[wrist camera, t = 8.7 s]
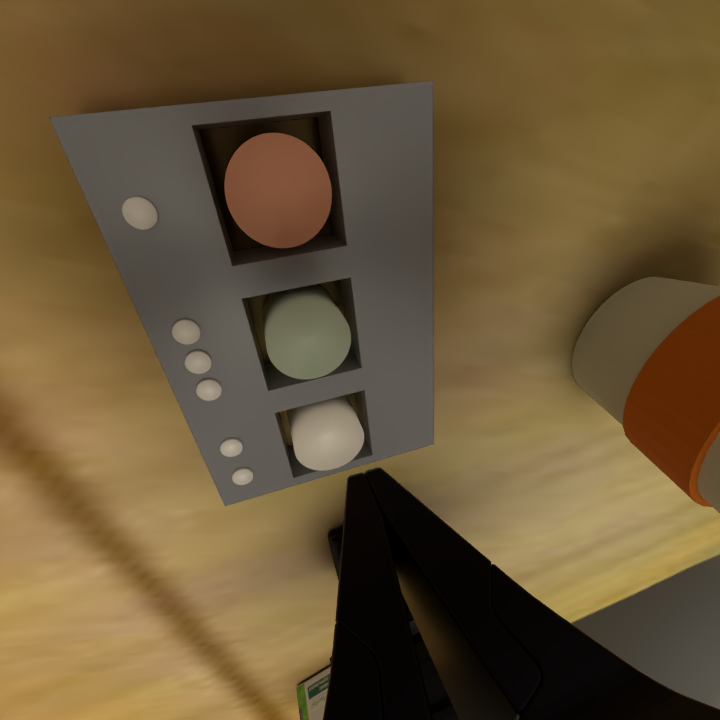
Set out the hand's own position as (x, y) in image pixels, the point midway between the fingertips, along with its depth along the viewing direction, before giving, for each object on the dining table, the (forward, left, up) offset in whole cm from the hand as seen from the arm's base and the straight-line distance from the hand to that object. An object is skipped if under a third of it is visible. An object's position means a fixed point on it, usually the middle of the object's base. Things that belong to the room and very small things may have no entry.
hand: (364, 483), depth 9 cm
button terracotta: (+6, 0, -11) cm, 12 cm away
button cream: (-6, 0, -12) cm, 13 cm away
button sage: (0, 0, -11) cm, 11 cm away
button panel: (0, 0, -11) cm, 11 cm away
